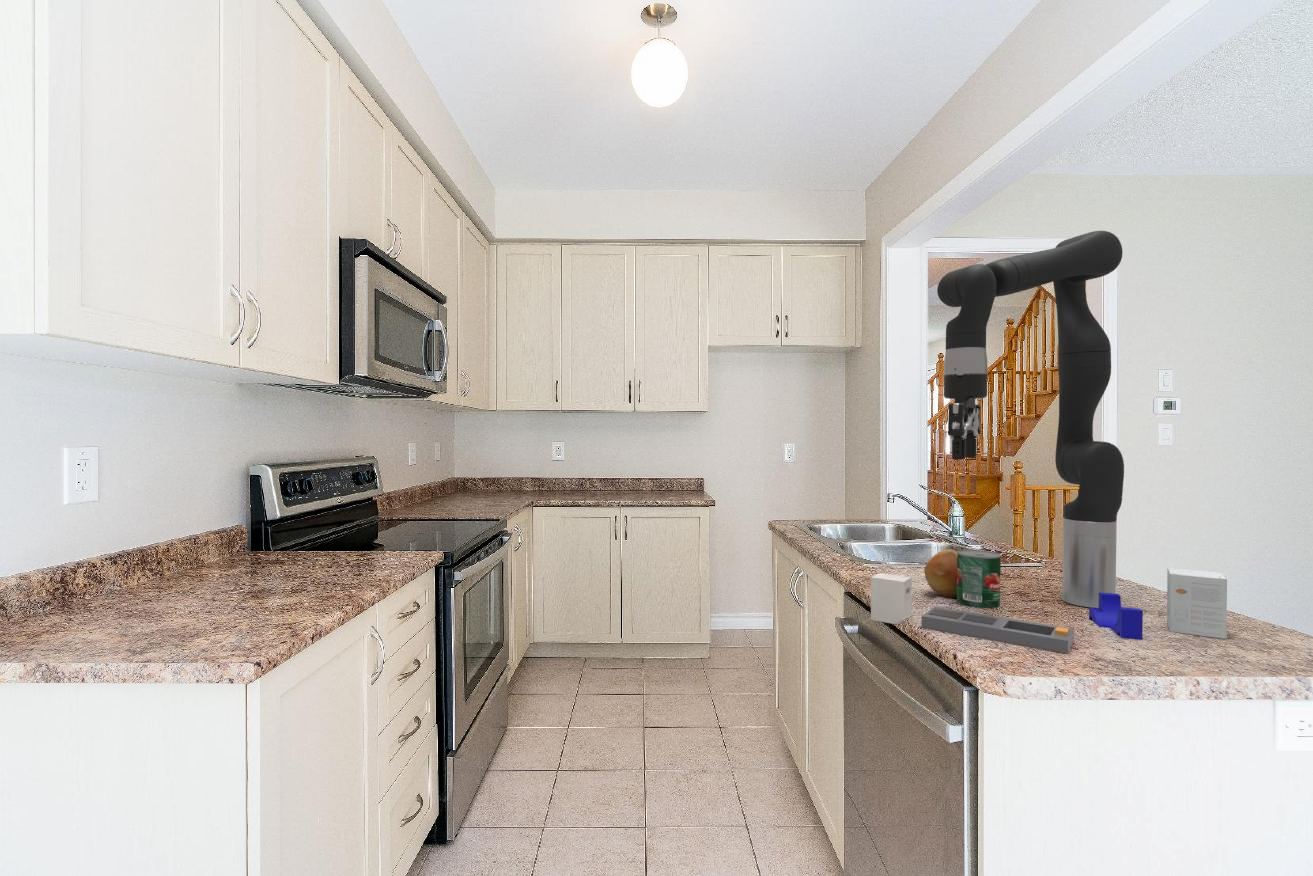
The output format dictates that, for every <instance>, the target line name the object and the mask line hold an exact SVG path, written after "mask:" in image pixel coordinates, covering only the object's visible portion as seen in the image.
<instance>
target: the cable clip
mask: <svg viewBox="0 0 1313 876" xmlns="http://www.w3.org/2000/svg"><path fill="white" fill-rule="evenodd" d="M1121 598H1122V597H1121V595H1120V594H1119V593H1116V594H1113V593H1099V608H1091V607H1088V620H1089V621H1092V622H1093V623H1094V624H1095V625H1096V626H1098V627H1099V628H1107V629H1108V628H1109V629H1110V630H1111V631H1112V632H1114V633H1115V634H1116V635H1117V636H1118V635H1119V638H1121V639H1127V640H1129V639H1130V640H1139V641H1140V640H1141V641H1142V640H1143V631H1144V630H1143V629H1144V628H1143V627H1144V625H1143V621H1144V620H1143V618H1144V612H1143V609H1141V608H1138V607H1137V608H1136V607H1125V606H1123V607H1122V602H1121V601H1122V599H1121Z"/></svg>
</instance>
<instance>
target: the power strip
mask: <svg viewBox="0 0 1313 876" xmlns="http://www.w3.org/2000/svg"><path fill="white" fill-rule="evenodd" d="M921 628H922V629H926V630H932V631H938V632H943V633H949V634H955V635H959V636H965V637H971V638H976V639H977V638H978V639H983V640H986V641H987V640H988V641H992V642H993V641H994V642H999V643H1004V644H1011V645H1016V646H1021V647H1028V648H1033V649H1037V650H1043V651H1049V652H1053V653H1054V652H1055V653H1061V654H1065V655H1066V654H1067V655H1068V654H1069V653H1070V651H1071V649H1072V647H1073V645H1074V642H1075V628H1072V627H1067V626H1065V627H1064V626H1059V625H1053V624H1047V623H1040V622H1034V621H1028V620H1022V619H1016V618H1008V617H1004V616H999V615H997V616H996V615H992V614H991V615H990V614H983V613H979V612H977V613H976V612H974V611H973V612H972V611H965V610H958V609H952V608H948V607H947V608H946V607H941V606H933V607H932V608H930V609H929V610H928V611H927V612H925V613H924V614H922V615H921Z"/></svg>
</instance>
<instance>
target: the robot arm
mask: <svg viewBox="0 0 1313 876" xmlns="http://www.w3.org/2000/svg"><path fill="white" fill-rule="evenodd" d="M1122 259H1123V246H1122V243H1121V241H1120V239H1119V237H1118V236H1117V235H1115V234H1114V233H1112V232H1111V231H1107V230H1094V231H1089V232H1087V233H1083V234H1080V235H1077V236H1074V237H1070V238H1068V239H1067V238H1066V239H1065V240H1064V239H1063V240H1062V241H1060V242H1059V243H1058V244H1057V245H1056V246H1055V247H1053V248H1048V249H1043V250H1039V251H1033V252H1027V253H1023V254H1018V255H1013V256H1009V257H1004V258H1000V259H997V260H994V261H991V262H989V263H985V264H982V263H976V264H972V265H969V266H965V267H963V268H962V267H961V268H958V269H955V270H952V271H949V272H948V273H945V274H944V275H943V277H941V278H940V281H939V282H938V285H937V290H936V291H937V292H936V293H937V296H938V298H939V300H940V301H941V302H942V303H943V304H944V305H946V306H948V307H950V308H960V309H959V313H958V315H957V316H955V317H954V318H952V319H950V320H949V321H948V322H947V324H946V327H945V350H944V351H945V354H944V360H943V397H944V398H945V399H948V400H949V399H950V400H952V399H953V400H954V402H950V403H948V406H947V407H948V419H947V421H948V424H947V426H948V427H947V434H948V436H949V437H950V439H952V440H951V441H952V442H951V458H952V459H953V460H957V461H959V460H965V459H966V458H967V459H969V458H970V459H973V458H976V457H977V454H978V453H977V451H978V450H977V447H978V446H977V443H978V442H977V440H978V438H979V436H981V409H982V408H981V405H980V404H976V400H977V399H985V398H987V396H988V355H987V326H988V322H989V319H990V316H991V313H992V310H993V309H992V308H993V307H994V302H995V298H997V297H1003V296H1004V297H1005V296H1009V295H1013V294H1016V293H1017V294H1018V293H1021V292H1024V291H1028V290H1031V289H1034V288H1037V287H1040V286H1043V285H1047V284H1051V283H1052V284H1053V289H1054V296H1055V305H1056V317H1057V318H1056V319H1057V320H1056V321H1057V341H1058V342H1057V370H1058V371H1057V372H1058V425H1057V435H1056V445H1055V456H1054V457H1055V458H1054V459H1055V460H1054V461H1055V468H1056V471H1057V474H1058V475H1059V477H1060V478H1061V479H1062V480H1063V481H1065V482H1066V483H1068V484H1071V485H1078V494H1077V497H1076V498H1075V499H1073V500H1072V501H1070V502H1067V503H1065V504H1064V505H1063V513H1062V514H1063V515H1062V517H1063V521H1062V525H1063V527H1062V529H1063V530H1062V531H1063V533H1062V538H1063V539H1062V581H1061V583H1062V585H1061V586H1062V587H1061V589H1062V590H1061V591H1062V592H1061V594H1062V595H1061V596H1062V597H1061V599H1062V601H1063V602H1065V603H1068V604H1071V605H1075V606H1078V607H1086V608H1095V609H1099V593H1113V594H1117V593H1116V591H1117V590H1116V588H1117V586H1116V585H1117V538H1118V537H1117V536H1118V535H1117V533H1118V532H1117V527H1118V526H1117V524H1118V523H1117V519H1118V518H1117V517H1118V513H1119V510H1120V508H1121V506H1122V503H1123V491H1124V477H1125V462H1124V457H1123V454H1122V452H1121V451H1120V449H1119V448H1118V447H1117V446H1116V445H1115V444H1113V443H1111V442H1107V441H1101V440H1100V441H1099V440H1098V441H1097V440H1094V434H1093V433H1094V431H1093V430H1094V428H1093V427H1094V419H1095V418H1094V417H1095V414H1096V410H1097V408H1098V405H1099V403H1100V402H1101V399H1102V398H1103V396H1104V394H1105V392H1106V390H1107V387H1108V385H1109V382H1110V380H1111V375H1112V345H1111V341H1110V339H1109V337H1108V335H1107V333H1106V332H1105V330H1104V329H1103V327H1102V325H1101V324H1100V322H1098V320H1097V319H1096V318H1095V316H1094V315H1093V313H1092V312H1091V309H1090V307H1089V304H1088V301H1087V290H1086V286H1087V285H1086V284H1087V282H1086V281H1090V280H1095V279H1098V278H1101V277H1105V276H1107V275H1109V274H1111V273H1112V272H1114V271H1115V270H1116V269H1117V268H1118V267H1119V265H1120V263H1121V262H1122Z"/></svg>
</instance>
